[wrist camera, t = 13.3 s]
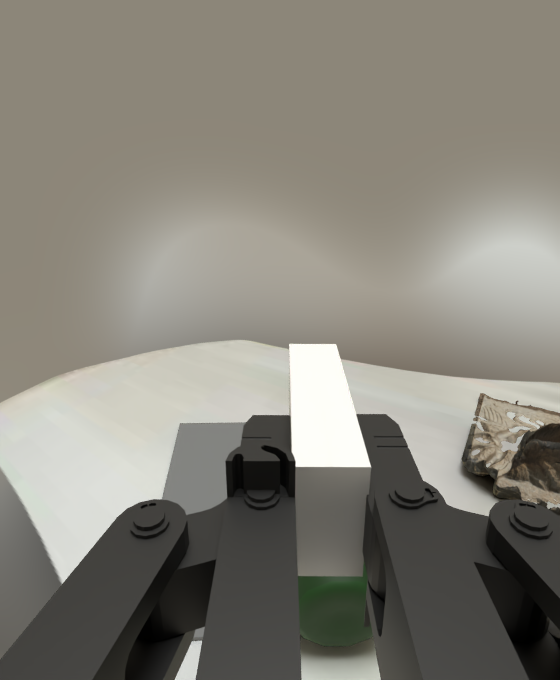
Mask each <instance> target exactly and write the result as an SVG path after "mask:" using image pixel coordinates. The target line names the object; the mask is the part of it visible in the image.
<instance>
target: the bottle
mask: <svg viewBox="0 0 560 680" xmlns="http://www.w3.org/2000/svg"><path fill="white" fill-rule="evenodd" d="M367 579H368V577H367V572H366V567H365V562H364V565H363V577H360V576H298V595H299V624H300V634H301V635H302V636H303V638H304V639H307V640H309V641H312V642H315V643H317V644H320V645H323V646H351V645H353V644H356V643H359V642H361V641H364V640H367V639H369V638H372V637H373V633H372V628H371V622H370V627H364V616H365V604H366V591H367Z"/></svg>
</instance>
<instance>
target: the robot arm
mask: <svg viewBox="0 0 560 680" xmlns="http://www.w3.org/2000/svg"><path fill="white" fill-rule="evenodd" d="M289 345H290V346H289V415H253V416H252V417H251V418H250V419H249V420H248V421H247V422H246V423H245V424H244V426H243V433H242V439H241V445H240V446H239V447H237V448H236V449H234V450H233V451H232V452H230V453H229V455H228V457H227V459H226V461H225V464H226V484H227V499H225V500H224V501H223V502H222V503H220V504H219V505H217V506H215V507H213V508H211V509H207V510H204V511H201V512H197V513H192V514H188V515H186V513H185V510H184V509H183V508H182V507H181V506H180V505H179V504H177V503H174V502H172V501H169V500H156V499H154V500H149V501H144V502H140V503H138V504H136V505H134V506H132V507H130V508H128V509H126V510H125V511H124V512H123V513H122V514H121V515H119V516H118V517H117V518H116V520H115V521H114V522H113V523H112V525H111V526H110V527H109V528H108V529H107V531H106V532H105V533H104V534H103V535H102V537H101V538H100V539H99V540H98V542H97V543H96V544H95V545H94V546H93V548H92V549H91V550H90V551H89V552H88V554H87V555H86V556H85V557H84V559H83V560H82V561H81V562H80V563H79V565H78V566H77V567H76V568H75V569H74V571H73V572H72V573H71V574H70V576H69V577H68V578H67V579H66V580H65V582H64V583H63V584H62V585H61V586H60V588H59V589H58V590H57V591H56V593H55V594H54V595H53V596H52V597H51V599H50V600H49V601H48V602H47V603H46V605H45V606H44V607H43V608H42V610H41V611H40V612H39V613H38V615H37V616H36V617H35V618H34V619H33V621H32V622H31V623H30V624H29V626H28V627H27V628H26V629H25V630H24V632H23V633H22V634H21V635H20V636H19V638H18V639H17V640H16V642H15V643H14V644H13V645H12V646H11V647H10V648H9V650H8V651H7V652H6V653H5V655H4V656H3V657H2V658H1V659H0V680H175V677H176V675H177V673H178V671H179V668H180V666H181V664H182V662H183V660H184V657H185V655H186V653H187V651H188V649H189V646H190V644H191V642H192V640H193V637H194V634H195V630H196V629H199V628H202V627H205V629H204V634H203V640H202V646H201V652H200V658H199V664H198V669H197V675H196V680H301V654H300V624H299V595H298V576H360V577H363V565H364V562H365V567H366V572H367V577H368V579H367V591H366V604H365V616H364V627H370V622H371V628H372V633H373V638H374V644H375V649H376V655H377V660H378V666H379V671H380V677H381V680H560V517H559V516H558V515H556V514H555V513H553V512H552V511H550V510H549V509H547V508H545V507H542V506H540V505H538V504H535V503H533V502H528V501H523V500H503V501H501V502H498V503H495V505H494V506H493V507H492V509H491V510H490V514H489V516H484V515H480V514H475V513H471V512H466V511H463V510H459V509H456V508H453V507H451V506H449V505H447V504H446V502H445V500H444V498H443V497H442V495H441V494H440V493H439V491H438V490H437V489H436V488H434V487H433V486H431V485H430V484H428V483H427V482H424V481H423V480H422V477H421V475H420V473H419V471H418V468H417V466H416V464H415V461H414V459H413V457H412V455H411V452H410V450H409V448H408V445H407V443H406V441H405V439H404V438H403V434H402V432H401V429H400V427H399V425H398V424H397V423H396V422H395V421H393V420H392V419H391V418H390V417H389V416H387V415H386V414H356V412H355V409H354V405H353V402H352V398H351V395H350V391H349V388H348V384H347V381H346V377H345V374H344V370H343V367H342V363H341V360H340V357H339V353H338V349H337V346H336V344H289Z"/></svg>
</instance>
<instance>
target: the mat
mask: <svg viewBox="0 0 560 680" xmlns="http://www.w3.org/2000/svg"><path fill="white" fill-rule="evenodd" d="M244 424H245V423H180V426H179V430H178V434H177V438H176V442H175V447H174V451H173V455H172V459H171V463H170V467H169V472H168V476H167V480H166V484H165V488H164V493H163V497H162V500H169V501H172V502H174V503H177V504H179V505H180V506H181V507H182V508H183V509H184V510H185V513H186V515H188V514H192V513H197V512H201V511H204V510H207V509H211V508H213V507H215V506H217V505H219V504H220V503H222V502H223V501H224V500H225V499H227V484H226V464H225V461H226V459H227V457H228V455H229V453H230V452H232V451H233V450H234V449H236V448H237V447H239V446H240V445H241V439H242V433H243V426H244ZM204 629H205V627H202V628H199V629H196V630H195V634H194V637H193V640H203V634H204ZM300 636H301V634H300Z"/></svg>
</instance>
